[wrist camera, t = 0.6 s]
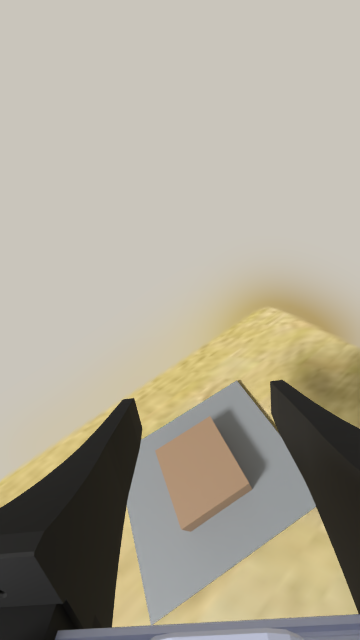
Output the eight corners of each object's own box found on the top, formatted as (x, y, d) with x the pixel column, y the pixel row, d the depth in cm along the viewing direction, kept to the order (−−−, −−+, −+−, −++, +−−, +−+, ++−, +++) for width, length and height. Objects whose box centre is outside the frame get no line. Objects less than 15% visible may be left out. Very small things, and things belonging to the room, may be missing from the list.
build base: (328, 497, 21) (333, 491, 18) (153, 624, 19) (134, 634, 16) (237, 382, 31) (233, 368, 29) (118, 456, 29) (104, 447, 27)
